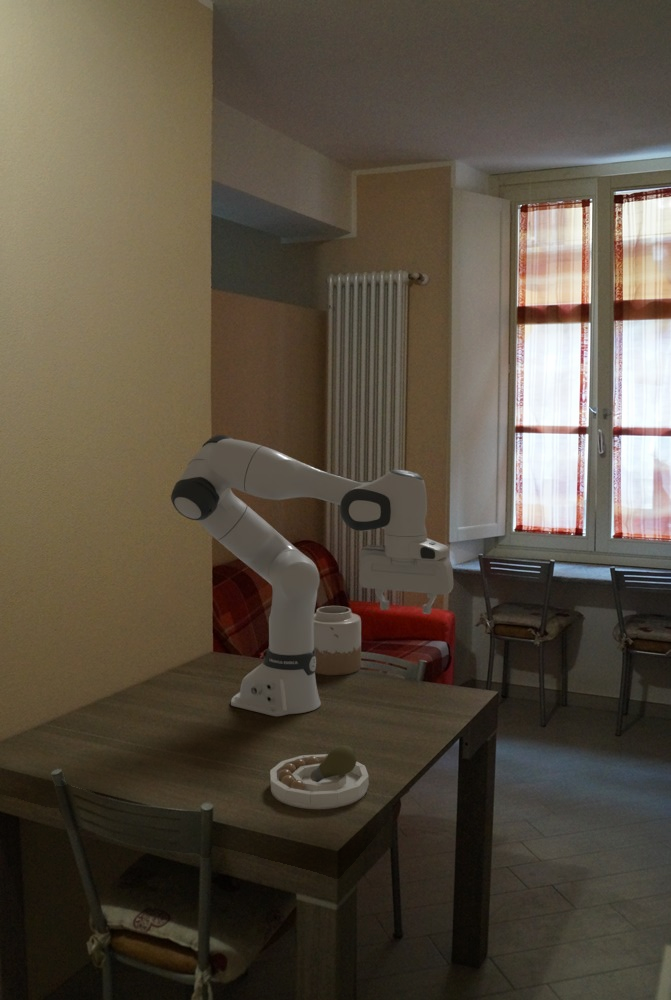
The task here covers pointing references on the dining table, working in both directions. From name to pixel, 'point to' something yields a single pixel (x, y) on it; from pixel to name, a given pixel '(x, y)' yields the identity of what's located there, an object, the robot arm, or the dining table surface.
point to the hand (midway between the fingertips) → (405, 611)
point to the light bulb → (335, 763)
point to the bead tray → (316, 784)
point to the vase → (337, 640)
